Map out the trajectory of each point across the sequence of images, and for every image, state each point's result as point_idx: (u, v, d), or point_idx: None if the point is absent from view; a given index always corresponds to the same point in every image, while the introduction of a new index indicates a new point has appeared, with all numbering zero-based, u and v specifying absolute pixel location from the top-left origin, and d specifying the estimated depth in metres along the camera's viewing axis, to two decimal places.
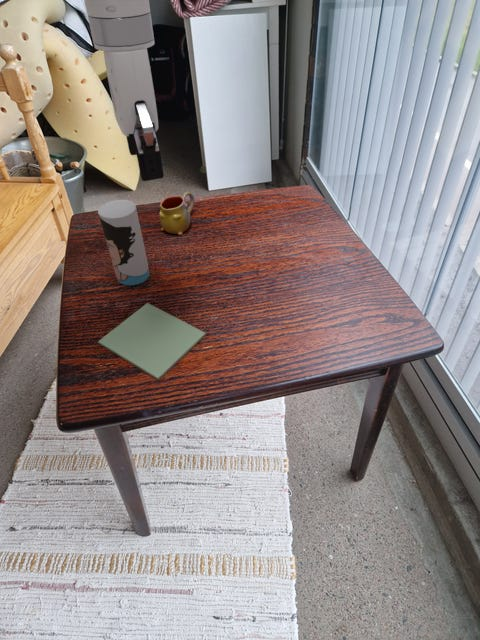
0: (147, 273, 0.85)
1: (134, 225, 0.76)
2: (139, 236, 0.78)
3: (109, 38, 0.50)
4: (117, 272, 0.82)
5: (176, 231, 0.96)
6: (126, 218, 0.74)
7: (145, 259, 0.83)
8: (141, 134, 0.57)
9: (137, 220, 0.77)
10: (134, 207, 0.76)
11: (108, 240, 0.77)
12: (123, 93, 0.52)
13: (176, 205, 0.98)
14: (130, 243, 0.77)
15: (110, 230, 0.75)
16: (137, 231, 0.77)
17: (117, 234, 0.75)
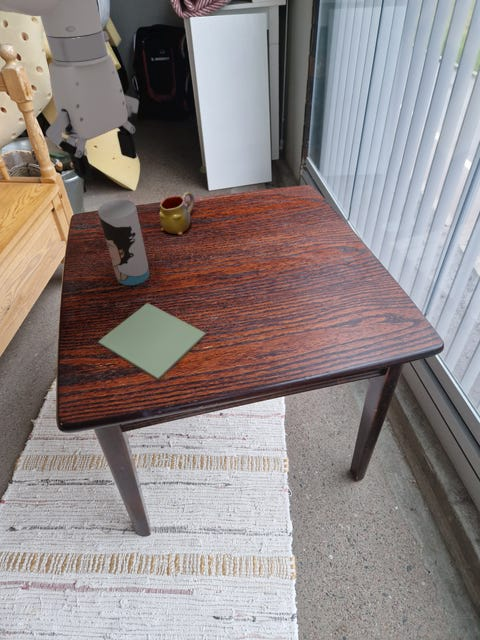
0: (147, 273, 0.85)
1: (134, 225, 0.76)
2: (139, 236, 0.78)
3: None
4: (117, 272, 0.82)
5: (176, 231, 0.96)
6: (126, 218, 0.74)
7: (145, 259, 0.83)
8: (75, 137, 0.64)
9: (137, 220, 0.77)
10: (134, 207, 0.76)
11: (108, 240, 0.77)
12: (54, 98, 0.60)
13: (176, 205, 0.98)
14: (130, 243, 0.77)
15: (110, 230, 0.75)
16: (137, 231, 0.77)
17: (117, 234, 0.75)
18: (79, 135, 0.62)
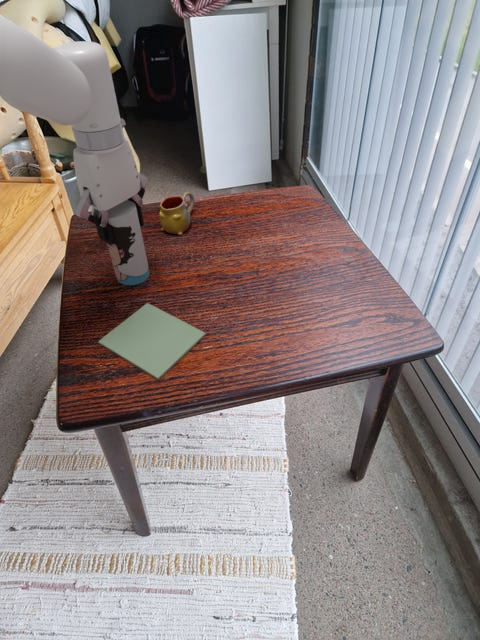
0: (147, 273, 0.85)
1: (134, 225, 0.76)
2: (139, 236, 0.78)
3: (75, 139, 0.66)
4: (117, 272, 0.82)
5: (176, 231, 0.96)
6: (126, 218, 0.74)
7: (145, 259, 0.83)
8: (98, 209, 0.73)
9: (137, 220, 0.77)
10: (134, 207, 0.75)
11: None
12: (77, 178, 0.68)
13: (176, 205, 0.98)
14: (130, 243, 0.77)
15: None
16: (137, 231, 0.77)
17: (117, 234, 0.75)
18: (98, 208, 0.70)
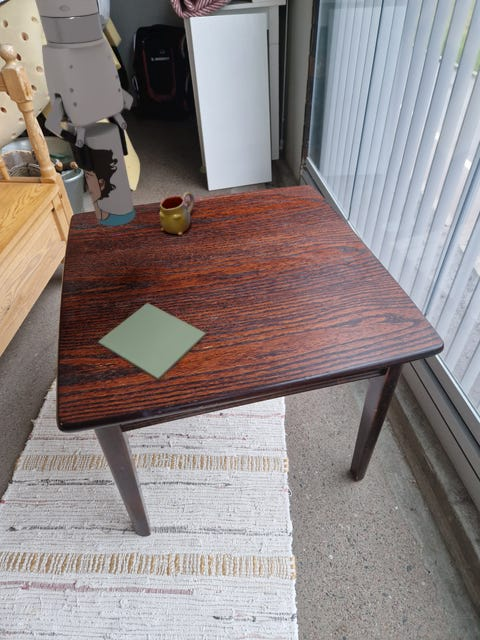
0: (132, 213, 0.74)
1: (116, 150, 0.66)
2: (122, 165, 0.68)
3: (44, 32, 0.55)
4: (97, 210, 0.72)
5: (176, 231, 0.96)
6: (107, 138, 0.64)
7: (129, 195, 0.72)
8: (73, 126, 0.62)
9: (120, 144, 0.66)
10: (116, 128, 0.65)
11: None
12: (47, 82, 0.58)
13: (176, 205, 0.98)
14: (112, 172, 0.67)
15: None
16: (120, 158, 0.67)
17: (96, 158, 0.65)
18: (72, 121, 0.60)
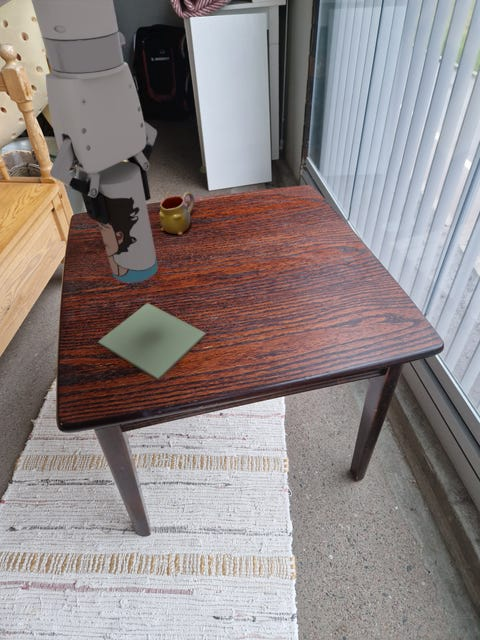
0: (154, 266, 0.62)
1: (138, 197, 0.53)
2: (144, 213, 0.56)
3: (48, 58, 0.43)
4: (113, 265, 0.60)
5: (176, 231, 0.96)
6: (127, 185, 0.51)
7: (152, 247, 0.60)
8: (85, 171, 0.50)
9: (142, 190, 0.54)
10: (138, 171, 0.53)
11: None
12: (52, 120, 0.46)
13: (176, 205, 0.98)
14: (132, 223, 0.55)
15: None
16: (142, 206, 0.55)
17: (113, 209, 0.53)
18: (85, 168, 0.47)
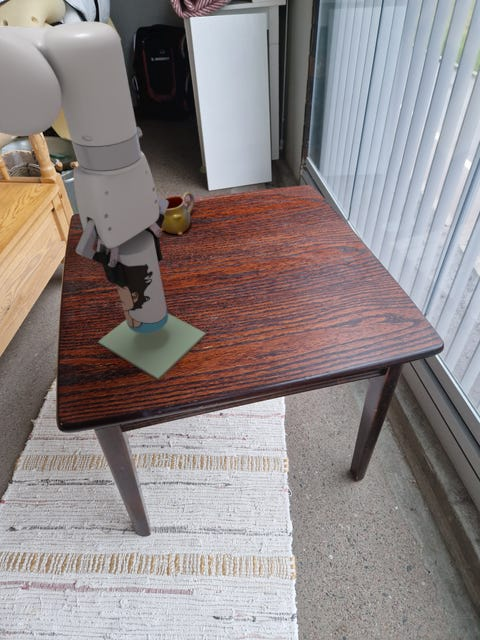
0: (165, 317, 0.68)
1: (152, 262, 0.59)
2: (157, 275, 0.62)
3: None
4: (128, 318, 0.66)
5: (176, 231, 0.96)
6: (142, 254, 0.57)
7: (163, 301, 0.66)
8: None
9: (155, 256, 0.60)
10: (152, 240, 0.59)
11: None
12: (78, 205, 0.52)
13: (176, 205, 0.98)
14: (146, 285, 0.61)
15: None
16: (155, 269, 0.61)
17: (130, 274, 0.59)
18: (106, 244, 0.53)
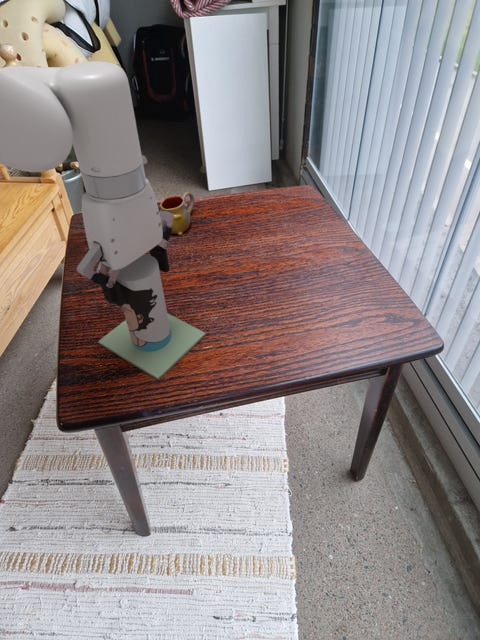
0: (169, 336, 0.71)
1: (156, 286, 0.62)
2: (161, 297, 0.65)
3: (84, 184, 0.51)
4: (133, 337, 0.69)
5: (176, 231, 0.96)
6: (147, 280, 0.60)
7: (167, 321, 0.69)
8: (107, 265, 0.58)
9: (159, 280, 0.63)
10: (156, 265, 0.62)
11: (124, 303, 0.64)
12: (86, 230, 0.54)
13: (176, 205, 0.98)
14: (151, 307, 0.64)
15: (127, 293, 0.61)
16: (159, 292, 0.64)
17: (135, 298, 0.62)
18: (112, 267, 0.56)
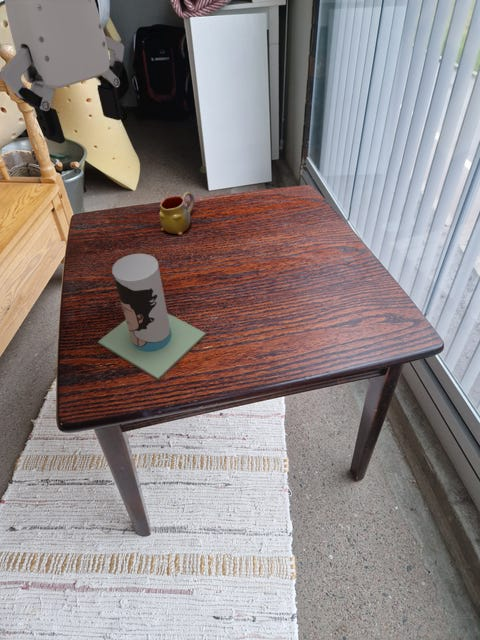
0: (169, 336, 0.71)
1: (156, 286, 0.62)
2: (161, 297, 0.65)
3: None
4: (133, 337, 0.69)
5: (176, 231, 0.96)
6: (147, 280, 0.60)
7: (167, 321, 0.69)
8: (41, 85, 0.50)
9: (159, 280, 0.63)
10: (156, 265, 0.62)
11: (124, 303, 0.64)
12: (11, 31, 0.46)
13: (176, 205, 0.98)
14: (151, 307, 0.64)
15: (127, 293, 0.61)
16: (159, 292, 0.64)
17: (135, 298, 0.62)
18: (45, 80, 0.48)
